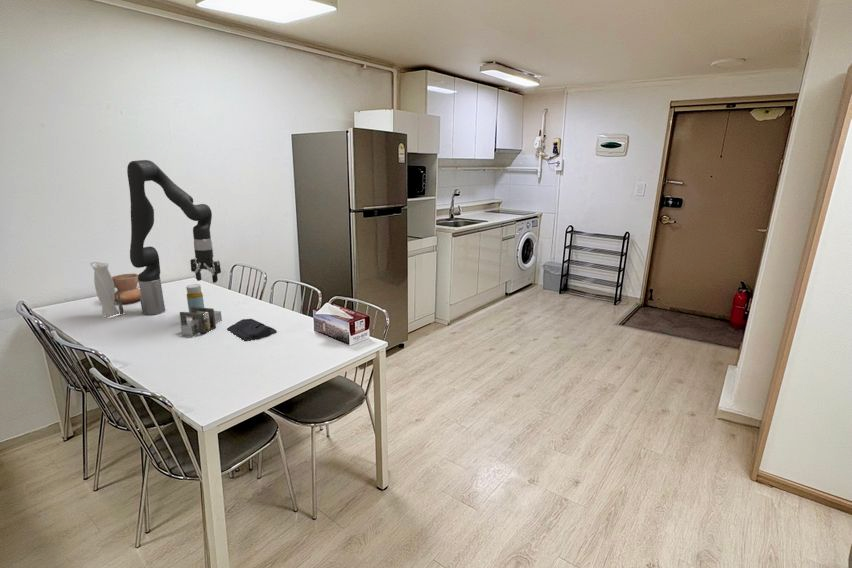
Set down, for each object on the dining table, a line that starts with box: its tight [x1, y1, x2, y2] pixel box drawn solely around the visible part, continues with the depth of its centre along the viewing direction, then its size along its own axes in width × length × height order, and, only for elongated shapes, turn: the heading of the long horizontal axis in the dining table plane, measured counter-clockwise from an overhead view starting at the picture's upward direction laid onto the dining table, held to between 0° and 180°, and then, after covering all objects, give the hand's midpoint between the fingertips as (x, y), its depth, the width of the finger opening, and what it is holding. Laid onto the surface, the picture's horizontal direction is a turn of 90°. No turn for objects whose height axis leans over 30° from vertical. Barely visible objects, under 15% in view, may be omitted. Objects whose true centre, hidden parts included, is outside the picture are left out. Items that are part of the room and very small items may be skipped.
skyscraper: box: [89, 261, 125, 318], centre depth 213 cm, size 8×8×28 cm
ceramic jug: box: [111, 272, 141, 304], centre depth 235 cm, size 18×14×14 cm
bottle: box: [186, 283, 206, 314], centre depth 217 cm, size 7×7×15 cm
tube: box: [180, 310, 223, 338], centre depth 202 cm, size 20×5×5 cm, turn 168°
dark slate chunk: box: [226, 318, 278, 342], centre depth 199 cm, size 15×22×5 cm
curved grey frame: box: [179, 307, 217, 335], centre depth 199 cm, size 11×8×10 cm
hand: (207, 281), depth 208 cm, fingers open, 8 cm apart
